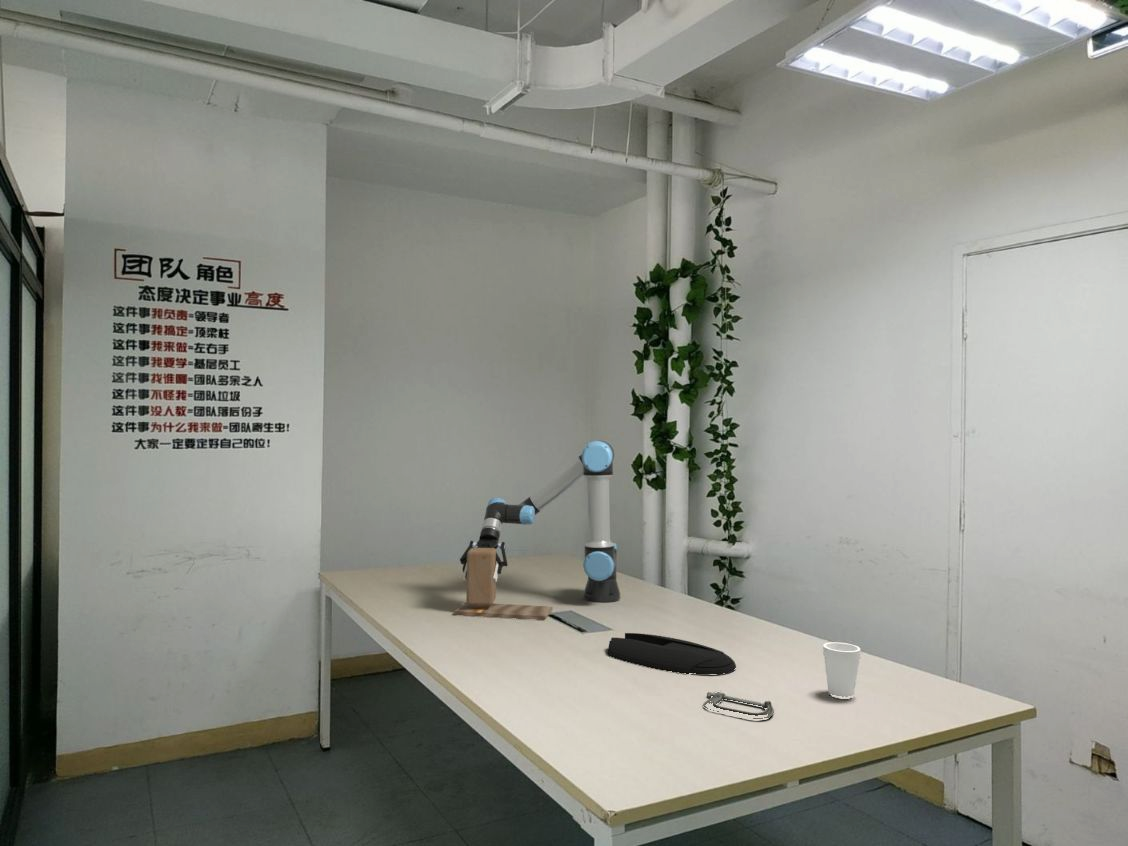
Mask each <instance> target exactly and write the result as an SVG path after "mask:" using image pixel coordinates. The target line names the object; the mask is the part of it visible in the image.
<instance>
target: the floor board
mask: <svg viewBox="0 0 1128 846" xmlns="http://www.w3.org/2000/svg"><path fill="white" fill-rule="evenodd" d="M553 610H554V609H553V606H549V605H548V606H546V605H532V604H531V605H528V604H527V605H526V604H511V603H509V604H508V603H494V602H493V604H492V605H469V604H467V602H465V603H463V604H461V605H460V606H458V608H457V609H455V610H454V611H453V615H454V616H457V615H464V616H463V617H475V616H484V617H483V618H492V617H500V618H499V619H509V618H516V619H515V620H527V619H537V620H536V621H544V620H545V619H546V620H547V618H548V617H549V616H550V615H551V613H552V612H553ZM551 611H552V612H551ZM550 612H551V613H550ZM549 614H550V615H549ZM466 615H467V616H466ZM548 615H549V616H548ZM517 618H518V619H517ZM546 620H545V621H546Z"/></svg>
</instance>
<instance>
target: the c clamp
mask: <svg viewBox="0 0 1128 846" xmlns="http://www.w3.org/2000/svg"><path fill="white" fill-rule="evenodd" d="M716 691H717V690H715V691H708V692H707V693H706V697H707V696H708V697H711V696H713V697H712V698H708V697H707V698H708V699H707V700H705V702H703V704H702V707H703V706H704V707H705V708H707V707H706V706H705V705H706V704H707V703H709V704H710V703H711V704H712V703H713V706H714V707H716V708H720V709H723V710H729V711H733V712H739V713H743V714H748V715H755V716H758V715H767V714H768V716H767V717H764V718H769V717H771V716H772V715H773V716H774V714H775V710H774V707H773V705H772V701H770V700H768V701H767V700H765V701H764V702H759V701H756V700H755V701H754V700H751V699H750V700H749V699H744V698H739V697H735V696H732V695H731V696H729V695H726V694H725V693H723V692H721V691H720V692H717V693H715V692H716ZM722 699H727V700H733V701H738V702H743V703H747V704H753V705H758V706H762V707H763V708H767V709H766V710H763V711H759V712H750V711H745V710H739V709H736V708H732V707H731V708H730V707H725V706H721V705H716V704H717V703H719V702H720V701H722ZM710 701H711V702H710ZM722 702H723V701H722ZM762 707H761V708H762ZM707 709H708V708H707ZM710 710H711V709H710ZM713 711H714V710H713ZM717 712H719V711H717ZM773 713H774V714H773ZM773 716H772V717H773ZM772 717H771V718H772ZM753 719H763V718H753Z"/></svg>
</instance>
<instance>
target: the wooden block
mask: <svg viewBox="0 0 1128 846" xmlns="http://www.w3.org/2000/svg"><path fill="white" fill-rule="evenodd" d="M496 552H497V549H495V548H477V547H475V548H471V549H470V550H469V551H468V553H467V580H466V600H465V601H466V602H467V604H469V605H492V604H493V603H494V602H495V600H496V596H497V595H496V593H497V591H496V590H497V586H496V585H497V582H494V579H493V577H494V573H495V568H496V564H497V561H496ZM466 602H465V603H466Z"/></svg>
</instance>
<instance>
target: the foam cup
mask: <svg viewBox="0 0 1128 846" xmlns="http://www.w3.org/2000/svg"><path fill="white" fill-rule="evenodd" d="M822 649H823V650H822V654H823V657H824V665H825V675H826V684H827V693H828V692H829V693H830V694H832V695H836V696H842V697H844V696H845V697H848V696H852V695H854V696H855V689H856V684H857V678H858V670H859V666H860V665H859V664H860V660H861V653H862V652H861V648H860V647H859V646H858V645H856V644H855V645H854V644H851V643H847V642H834V641H833V642H826V643H824V644H823V645H822ZM829 693H828V694H829Z"/></svg>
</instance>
